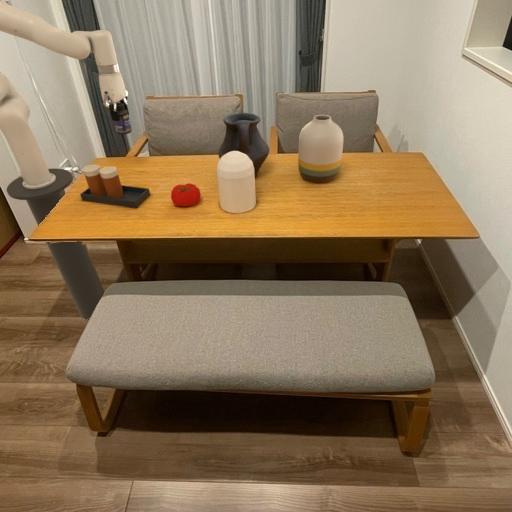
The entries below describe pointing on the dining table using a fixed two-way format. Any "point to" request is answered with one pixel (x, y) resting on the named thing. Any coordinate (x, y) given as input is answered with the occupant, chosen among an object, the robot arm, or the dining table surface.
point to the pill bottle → (122, 120)
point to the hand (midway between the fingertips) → (120, 117)
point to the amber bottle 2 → (111, 182)
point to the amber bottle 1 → (94, 180)
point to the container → (236, 182)
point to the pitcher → (244, 138)
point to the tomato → (185, 195)
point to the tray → (130, 198)
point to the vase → (320, 149)
